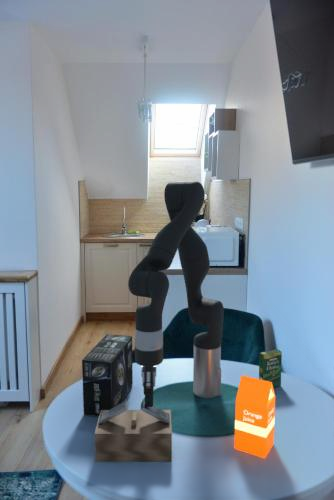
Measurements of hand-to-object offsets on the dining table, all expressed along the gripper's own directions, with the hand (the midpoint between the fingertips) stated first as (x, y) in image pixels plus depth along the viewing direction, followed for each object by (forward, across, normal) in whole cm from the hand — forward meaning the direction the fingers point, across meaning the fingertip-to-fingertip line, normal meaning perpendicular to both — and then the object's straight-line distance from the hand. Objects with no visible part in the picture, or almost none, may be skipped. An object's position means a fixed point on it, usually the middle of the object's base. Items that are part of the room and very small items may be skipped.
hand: (149, 405), depth 120 cm
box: (+13, +28, +14) cm, 33 cm away
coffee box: (+13, +37, -42) cm, 57 cm away
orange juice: (+13, +1, -29) cm, 32 cm away
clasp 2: (+3, 0, -1) cm, 3 cm away
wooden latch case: (+13, 0, +4) cm, 13 cm away
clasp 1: (+3, 0, +10) cm, 10 cm away
